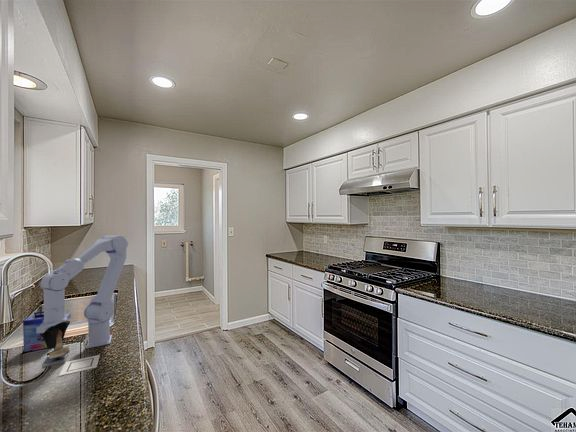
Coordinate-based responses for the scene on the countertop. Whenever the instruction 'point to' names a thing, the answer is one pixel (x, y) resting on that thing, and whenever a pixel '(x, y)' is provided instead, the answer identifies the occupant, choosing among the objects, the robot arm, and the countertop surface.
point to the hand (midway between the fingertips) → (55, 345)
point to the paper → (80, 365)
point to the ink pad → (54, 361)
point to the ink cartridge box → (33, 333)
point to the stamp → (59, 348)
